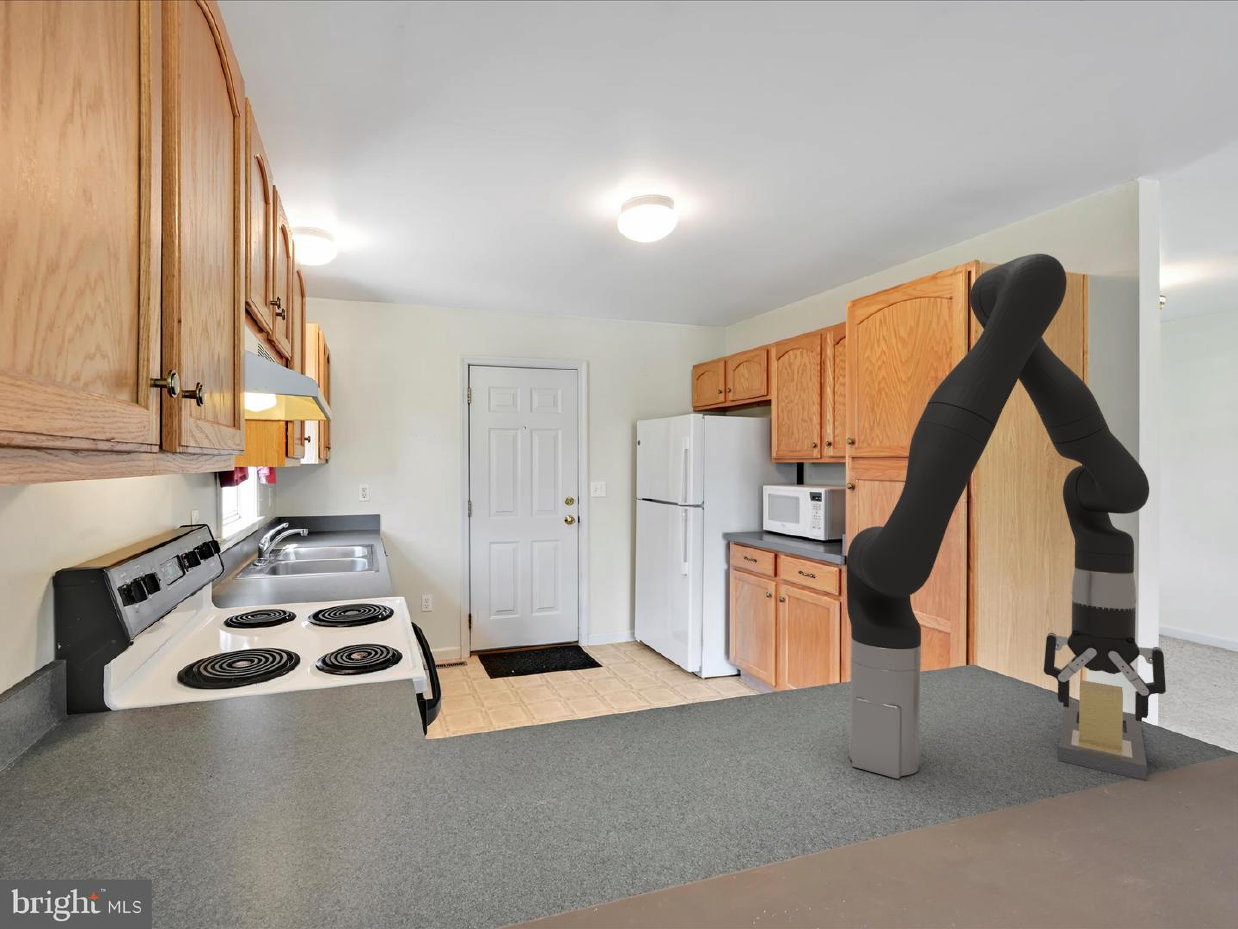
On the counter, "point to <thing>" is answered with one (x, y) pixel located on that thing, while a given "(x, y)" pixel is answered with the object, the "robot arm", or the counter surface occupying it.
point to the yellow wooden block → (1101, 716)
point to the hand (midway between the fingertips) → (1101, 712)
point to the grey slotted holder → (1101, 759)
